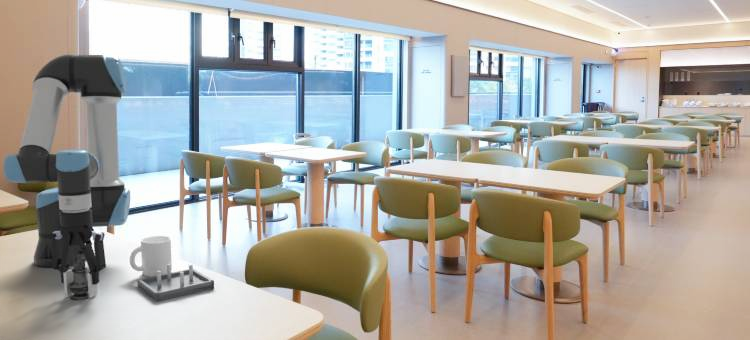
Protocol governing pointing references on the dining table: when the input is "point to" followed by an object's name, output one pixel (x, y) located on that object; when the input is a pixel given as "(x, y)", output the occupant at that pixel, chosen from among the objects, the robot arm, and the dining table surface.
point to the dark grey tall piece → (79, 279)
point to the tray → (175, 283)
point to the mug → (153, 255)
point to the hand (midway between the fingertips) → (81, 295)
